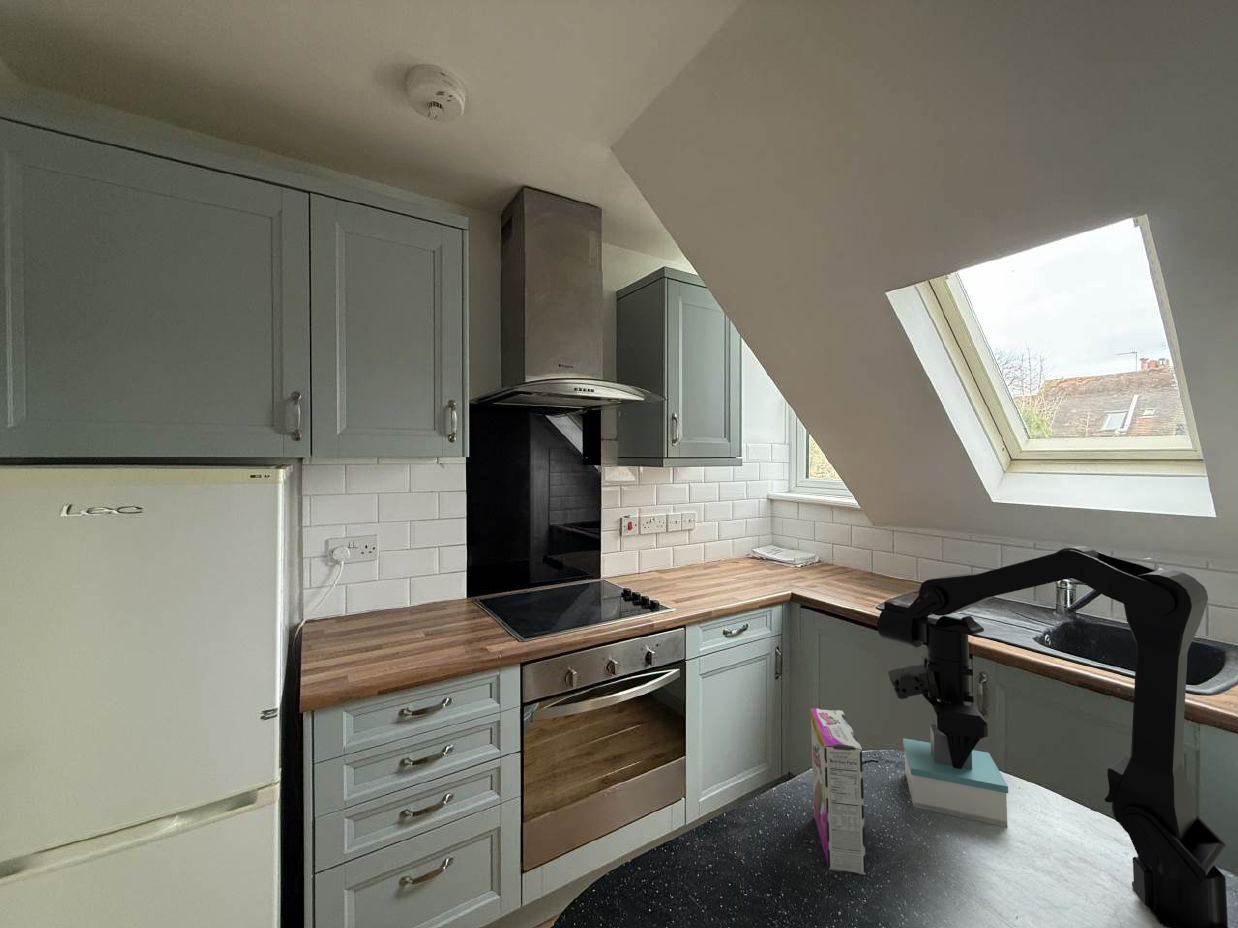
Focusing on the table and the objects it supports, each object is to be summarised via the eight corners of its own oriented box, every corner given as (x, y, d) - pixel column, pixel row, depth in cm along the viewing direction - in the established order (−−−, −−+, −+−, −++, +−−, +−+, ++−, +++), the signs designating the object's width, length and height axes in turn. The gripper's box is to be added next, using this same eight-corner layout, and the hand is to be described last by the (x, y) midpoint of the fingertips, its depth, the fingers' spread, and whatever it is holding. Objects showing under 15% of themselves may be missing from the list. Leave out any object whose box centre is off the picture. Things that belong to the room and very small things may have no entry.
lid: (989, 765, 82) (987, 724, 83) (1008, 800, 73) (1006, 755, 74) (903, 749, 87) (902, 711, 88) (911, 781, 78) (910, 738, 78)
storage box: (988, 790, 82) (987, 759, 82) (1007, 827, 73) (1006, 792, 74) (905, 774, 87) (904, 744, 87) (913, 806, 78) (912, 774, 78)
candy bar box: (811, 815, 76) (809, 706, 77) (846, 820, 75) (843, 709, 76) (826, 871, 65) (823, 743, 66) (867, 877, 64) (864, 747, 65)
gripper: (885, 633, 93) (888, 719, 92) (897, 668, 76) (900, 773, 75) (957, 640, 88) (960, 730, 88) (986, 679, 71) (990, 791, 71)
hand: (950, 753), depth 80 cm, fingers open, 8 cm apart
